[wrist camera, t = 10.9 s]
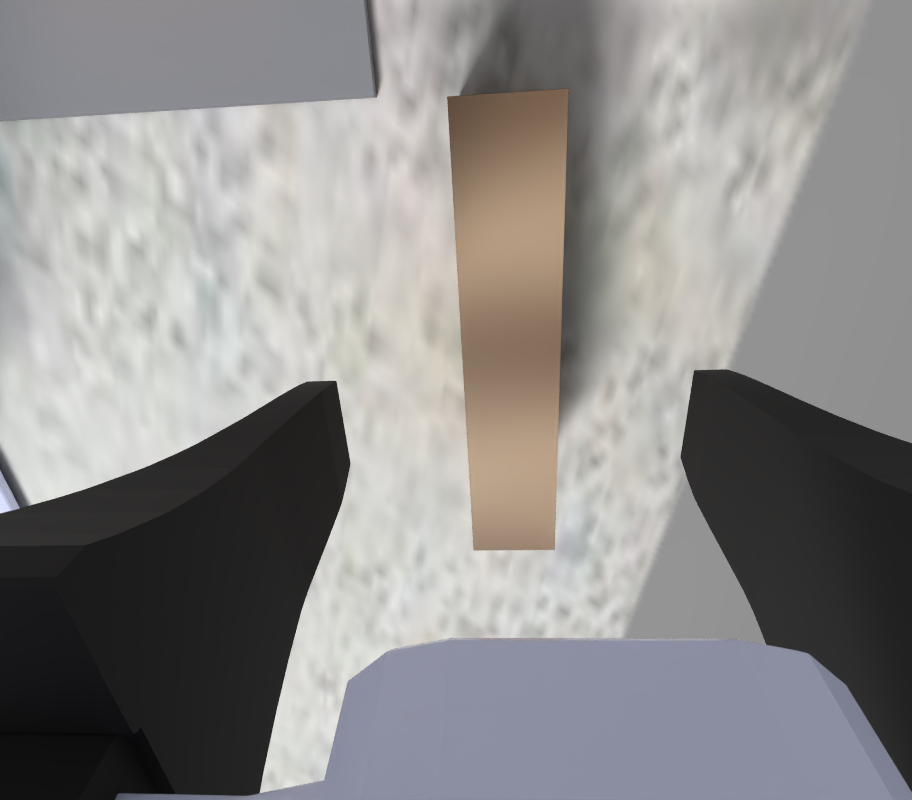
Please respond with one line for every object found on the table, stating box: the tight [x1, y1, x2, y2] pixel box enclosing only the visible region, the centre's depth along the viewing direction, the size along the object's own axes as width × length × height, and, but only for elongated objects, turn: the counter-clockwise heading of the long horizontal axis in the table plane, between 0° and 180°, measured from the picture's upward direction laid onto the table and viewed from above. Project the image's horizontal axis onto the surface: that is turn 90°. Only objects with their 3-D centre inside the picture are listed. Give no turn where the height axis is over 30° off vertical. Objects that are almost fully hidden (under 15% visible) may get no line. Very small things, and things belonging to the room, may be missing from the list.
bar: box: [447, 89, 569, 550], centre depth 16 cm, size 12×2×5 cm, turn 3°
